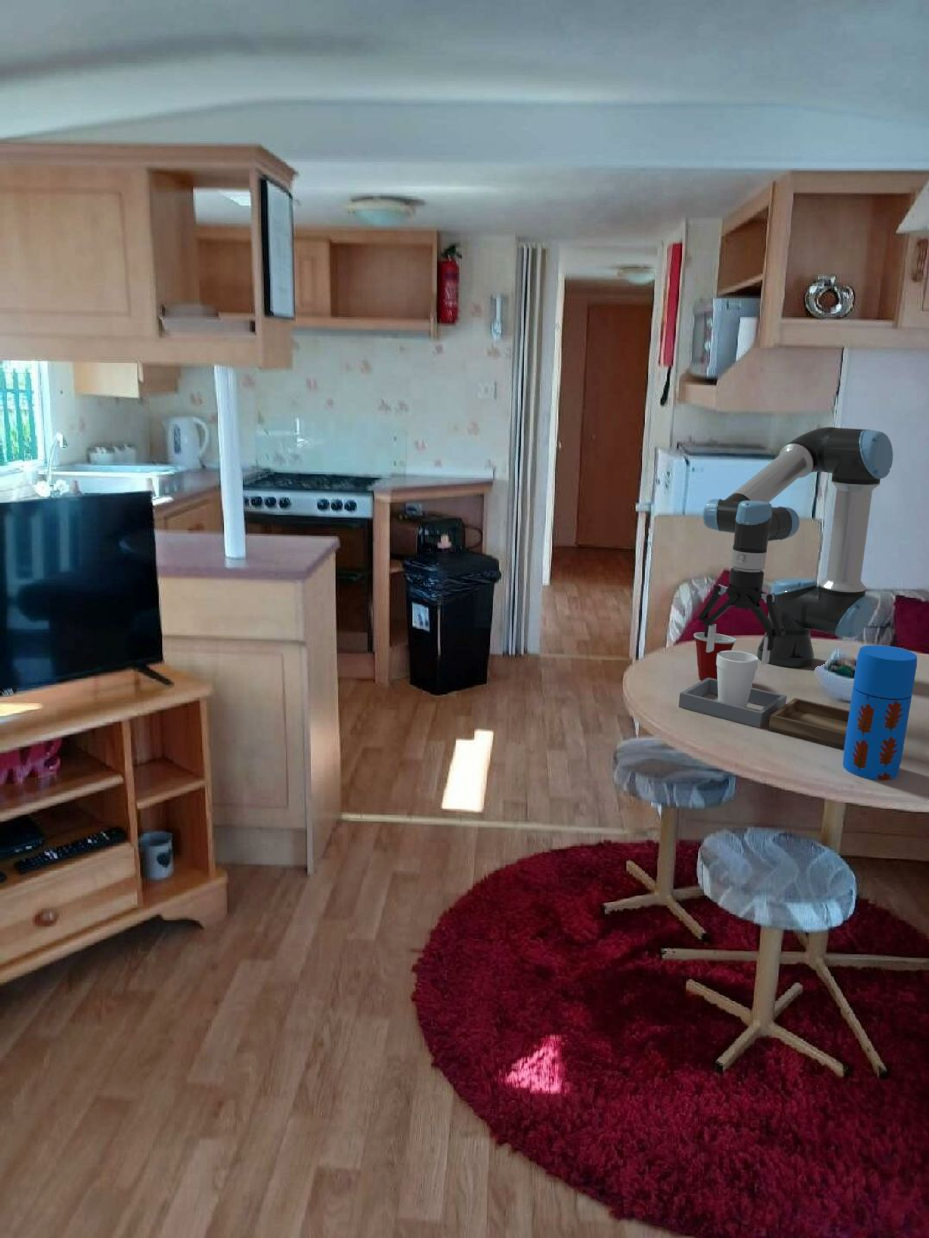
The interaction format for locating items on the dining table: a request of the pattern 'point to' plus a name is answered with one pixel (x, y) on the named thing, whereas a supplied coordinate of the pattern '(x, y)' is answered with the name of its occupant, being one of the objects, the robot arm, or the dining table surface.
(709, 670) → the plastic cup
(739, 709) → the bin
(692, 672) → the dining table surface
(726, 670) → the foam cup
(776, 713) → the bin
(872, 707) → the thermos
